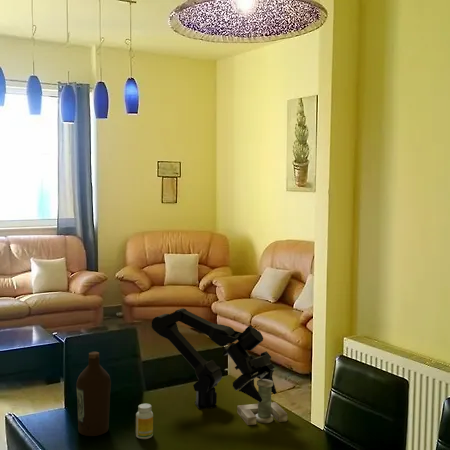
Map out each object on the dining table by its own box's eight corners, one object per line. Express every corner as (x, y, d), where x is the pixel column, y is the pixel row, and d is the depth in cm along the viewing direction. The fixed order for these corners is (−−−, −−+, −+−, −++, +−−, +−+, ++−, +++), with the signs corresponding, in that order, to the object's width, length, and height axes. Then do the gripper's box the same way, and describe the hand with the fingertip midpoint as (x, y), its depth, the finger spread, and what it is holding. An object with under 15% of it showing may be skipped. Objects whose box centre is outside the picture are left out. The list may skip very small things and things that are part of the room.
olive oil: (106, 421, 196) (107, 347, 195) (113, 434, 187) (114, 355, 185) (73, 426, 192) (74, 349, 190) (79, 439, 183) (79, 359, 181)
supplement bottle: (132, 435, 187) (132, 405, 186) (147, 430, 190) (147, 401, 189) (141, 441, 182) (141, 410, 182) (156, 436, 186) (156, 406, 185)
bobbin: (258, 423, 197) (259, 385, 196) (252, 416, 203) (253, 379, 202) (275, 422, 199) (276, 384, 198) (269, 415, 205) (270, 378, 204)
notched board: (247, 425, 196) (247, 417, 196) (237, 412, 206) (237, 405, 206) (287, 421, 200) (287, 413, 200) (275, 408, 211) (275, 402, 210)
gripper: (241, 351, 194) (269, 392, 188) (270, 339, 209) (297, 377, 203) (220, 370, 199) (247, 410, 193) (251, 357, 214) (276, 394, 209)
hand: (268, 397), depth 200 cm, fingers open, 9 cm apart
